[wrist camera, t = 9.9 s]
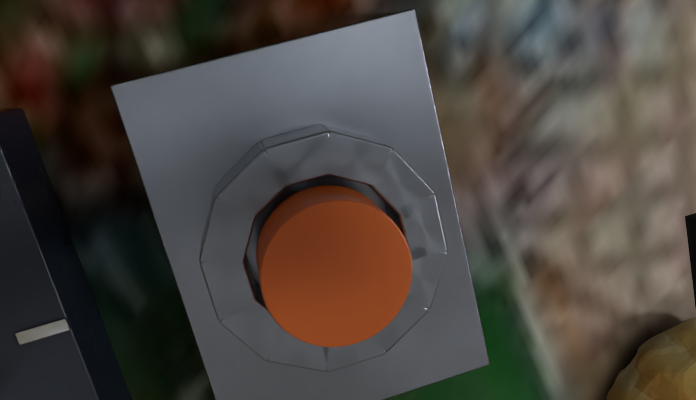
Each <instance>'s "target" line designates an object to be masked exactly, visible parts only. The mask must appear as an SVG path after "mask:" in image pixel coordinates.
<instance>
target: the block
mask: <svg viewBox="0 0 696 400" xmlns="http://www.w3.org/2000/svg"><path fill="white" fill-rule="evenodd" d="M111 91H112V94H113V97H114V100H115V103H116V106H117V109H118V112H119V114H120V117H121V120H122V123H123V126H124V129H125V132H126V135H127V138H128V141H129V144H130V147H131V150H132V153H133V156H134V159H135V162H136V165H137V168H138V171H139V174H140V177H141V180H142V183H143V186H144V189H145V192H146V195H147V198H148V201H149V204H150V207H151V210H152V213H153V216H154V219H155V222H156V224H157V227H158V230H159V233H160V236H161V239H162V242H163V245H164V248H165V251H166V254H167V257H168V260H169V263H170V266H171V269H172V272H173V275H174V278H175V281H176V284H177V287H178V290H179V293H180V296H181V299H182V302H183V305H184V308H185V311H186V314H187V317H188V320H189V323H190V326H191V329H192V332H193V334H194V337H195V340H196V343H197V346H198V349H199V352H200V355H201V358H202V361H203V364H204V367H205V370H206V373H207V376H208V379H209V382H210V385H211V388H212V391H213V394H214V397H215V400H384V399H387V398H390V397H393V396H396V395H399V394H402V393H405V392H408V391H411V390H415V389H418V388H421V387H424V386H427V385H430V384H433V383H436V382H439V381H442V380H445V379H448V378H451V377H454V376H457V375H460V374H463V373H466V372H469V371H472V370H475V369H478V368H481V367H484V366H487V365H489V364H490V363H489V358H488V353H487V349H486V344H485V339H484V334H483V330H482V325H481V320H480V315H479V311H478V306H477V301H476V296H475V292H474V287H473V282H472V277H471V273H470V268H469V263H468V258H467V254H466V249H465V244H464V239H463V235H462V230H461V225H460V221H459V216H458V211H457V206H456V202H455V197H454V192H453V187H452V183H451V178H450V173H449V168H448V164H447V159H446V154H445V149H444V145H443V140H442V135H441V130H440V126H439V121H438V116H437V111H436V107H435V102H434V97H433V92H432V88H431V83H430V78H429V73H428V69H427V64H426V59H425V54H424V50H423V45H422V40H421V35H420V31H419V26H418V21H417V16H416V12H415V9H409V10H405V11H401V12H397V13H393V14H389V15H385V16H381V17H377V18H373V19H369V20H365V21H361V22H357V23H353V24H350V25H346V26H342V27H338V28H334V29H330V30H326V31H322V32H318V33H314V34H310V35H306V36H302V37H299V38H295V39H291V40H287V41H283V42H279V43H275V44H271V45H267V46H263V47H259V48H255V49H251V50H247V51H244V52H240V53H236V54H232V55H228V56H224V57H220V58H216V59H212V60H208V61H204V62H200V63H196V64H193V65H189V66H185V67H181V68H177V69H173V70H169V71H165V72H161V73H157V74H153V75H149V76H145V77H141V78H138V79H134V80H130V81H126V82H122V83H118V84H114V85H111ZM322 185H337V186H342V187H347V188H350V189H353V190H355V191H357V192H360V193H362V194H363V195H365V196H366V197H368V198H369V199H370V200H372V201H373V202H374V203H375V204H376V205H377V206H378V207H379V208H380V209H381V210H382V211H383V212H384V213H385V214H386V215H387V216H389V217H390V218H391V219H392V220H393V222H394V223H395V224H396V225H397V226H398V227H399V229H400V230H401V232H402V233H403V235H404V237H405V239H406V241H407V243H408V246H409V249H410V252H411V258H412V281H411V285H410V289H409V293H408V295H407V298H406V300H405V302H404V304H403V306H402V308H401V309H400V311H399V312H398V314H397V315H396V316H395V318H394V319H393V320H392V321H391V322H390V323H389V324H388V325H387V326H386V327H385V328H384V329H382V330H381V331H380V332H378V333H377V334H375V335H374V336H372V337H370V338H368V339H366V340H364V341H361V342H359V343H356V344H352V345H348V346H342V347H323V346H316V345H312V344H308V343H306V342H303V341H301V340H299V339H297V338H295V337H293V336H291V335H290V334H289V333H287V332H286V331H285V330H283V329H282V328H281V327H280V326H279V325H278V324H277V323H276V321H275V320H274V319H273V317H272V316H271V314H270V313H269V311H268V309H267V307H266V305H265V302H264V300H263V296H262V292H261V287H260V281H259V275H258V268H257V259H256V251H257V243H258V238H259V235H260V232H261V229H262V227H263V225H264V223H265V221H266V220H267V218H268V217H269V215H270V214H271V213H272V212H273V210H274V209H275V208H276V207H277V206H278V205H279V204H280V203H282V202H283V201H284V200H285V199H287V198H288V197H290V196H291V195H293V194H295V193H297V192H299V191H301V190H304V189H307V188H310V187H315V186H322Z"/></svg>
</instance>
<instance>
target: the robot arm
mask: <svg viewBox="0 0 696 400" xmlns="http://www.w3.org/2000/svg"><path fill="white" fill-rule="evenodd" d="M685 219H686V228H687V237H688V245H689V254H690V263H691V271H692V280H693V289H694V297H695V306H696V213H695V214H691V215H688V216H685Z"/></svg>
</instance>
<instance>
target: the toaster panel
mask: <svg viewBox="0 0 696 400" xmlns="http://www.w3.org/2000/svg"><path fill="white" fill-rule="evenodd" d="M0 400H131V397H130V395H129V392H128V389H127V386H126V384H125V381H124V378H123V376H122V373H121V370H120V368H119V365H118V362H117V360H116V357H115V354H114V352H113V349H112V346H111V344H110V341H109V338H108V336H107V333H106V330H105V328H104V325H103V322H102V320H101V317H100V314H99V312H98V309H97V306H96V304H95V301H94V298H93V296H92V293H91V290H90V288H89V285H88V282H87V279H86V277H85V274H84V271H83V269H82V266H81V263H80V261H79V258H78V255H77V253H76V250H75V247H74V245H73V242H72V239H71V237H70V234H69V231H68V229H67V226H66V223H65V221H64V218H63V215H62V213H61V210H60V207H59V205H58V202H57V199H56V197H55V194H54V191H53V189H52V186H51V183H50V180H49V178H48V175H47V172H46V170H45V167H44V164H43V162H42V159H41V156H40V154H39V151H38V148H37V146H36V143H35V140H34V138H33V135H32V132H31V130H30V127H29V124H28V122H27V119H26V116H25V114H24V111H23V109H21V108H20V109H16V110H12V111H8V112H4V113H0Z"/></svg>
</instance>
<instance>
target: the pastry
mask: <svg viewBox="0 0 696 400" xmlns="http://www.w3.org/2000/svg"><path fill="white" fill-rule="evenodd" d="M606 400H696V318H692V319H688V320H686V321H684V322H682V323H680V324H678V325H676V326H674V327H672V328H670V329H668V330H666V331H664V332H661V333H659V334H657V335H655V336H654V337H652V338H650V339H649V340H647V341H646V342H645V343H643V344H642V345H641V346H639V347H638V352H637V354H636V355H635V357H634V358H633V360H632V361H631V363H630V364H629V365H628V366H627V367H626V368H625V369H624V370H621V371H620V372H619V374H618V376H617V378H616V380H615V382H614V384H613V386H612V388H611V389H610V391H609V392H608V394H607V399H606Z"/></svg>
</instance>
